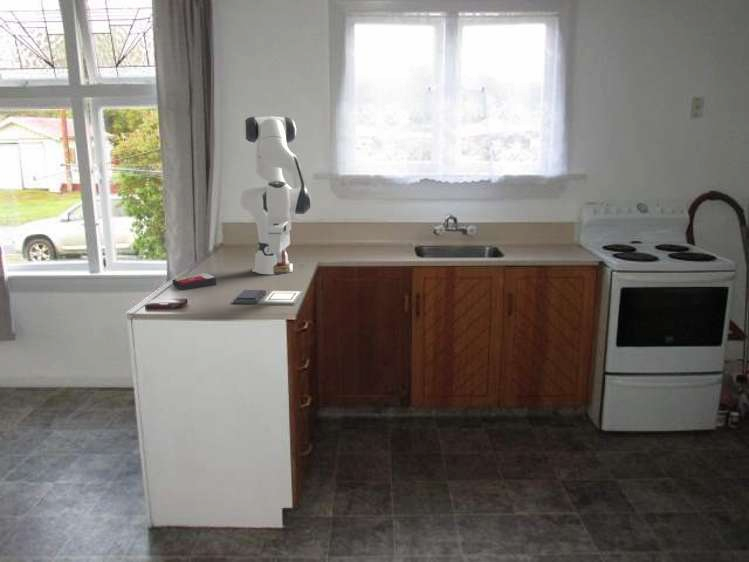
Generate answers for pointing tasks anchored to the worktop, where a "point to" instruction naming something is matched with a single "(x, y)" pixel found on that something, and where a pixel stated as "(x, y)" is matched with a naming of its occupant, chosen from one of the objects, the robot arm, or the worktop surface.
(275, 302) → the board
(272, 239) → the robot arm
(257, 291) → the ink pad
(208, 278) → the calculator
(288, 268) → the stamp
